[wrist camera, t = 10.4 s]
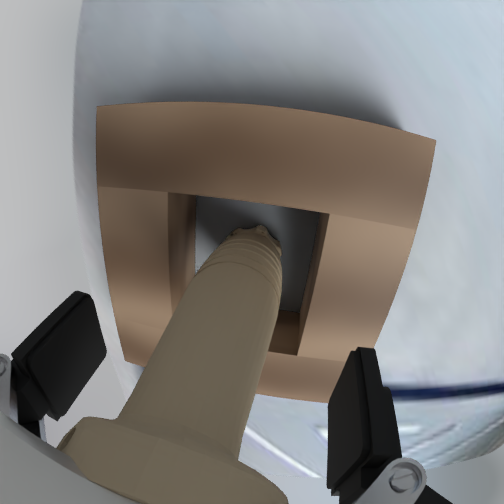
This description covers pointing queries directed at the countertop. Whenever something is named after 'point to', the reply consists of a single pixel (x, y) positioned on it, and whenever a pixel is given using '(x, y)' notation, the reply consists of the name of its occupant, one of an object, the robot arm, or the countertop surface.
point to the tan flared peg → (195, 390)
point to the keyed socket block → (267, 192)
